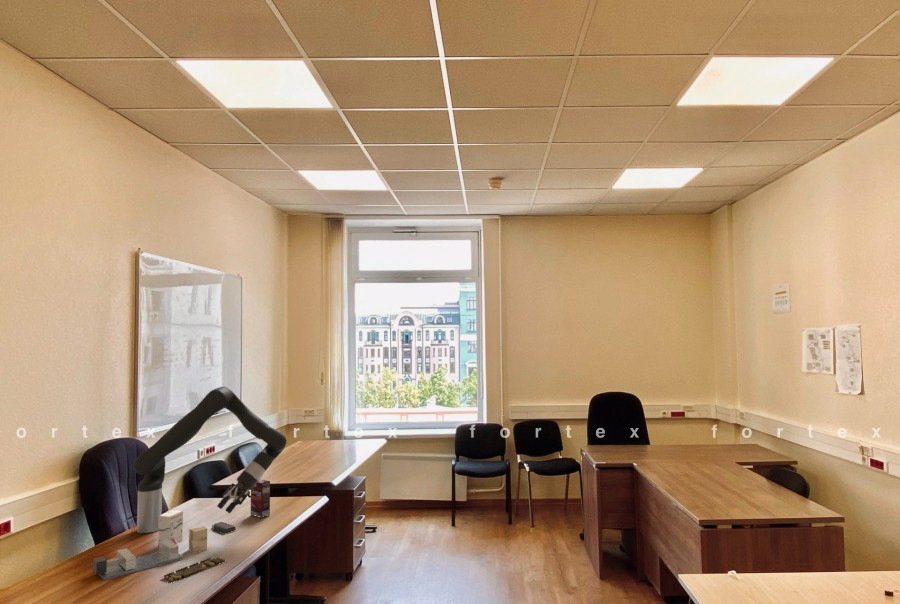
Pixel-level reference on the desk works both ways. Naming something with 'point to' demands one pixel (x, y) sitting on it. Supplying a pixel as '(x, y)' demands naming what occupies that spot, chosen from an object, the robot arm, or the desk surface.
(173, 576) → the keyboard
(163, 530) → the ink box
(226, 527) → the usb drive
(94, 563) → the free jaw
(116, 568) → the vise base
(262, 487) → the supplement box
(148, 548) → the desk surface
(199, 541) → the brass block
